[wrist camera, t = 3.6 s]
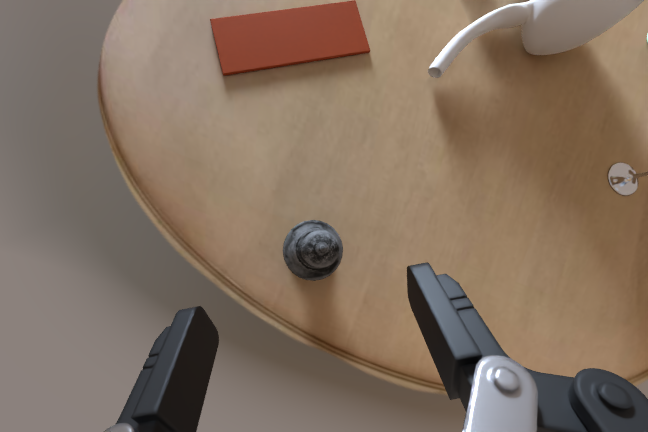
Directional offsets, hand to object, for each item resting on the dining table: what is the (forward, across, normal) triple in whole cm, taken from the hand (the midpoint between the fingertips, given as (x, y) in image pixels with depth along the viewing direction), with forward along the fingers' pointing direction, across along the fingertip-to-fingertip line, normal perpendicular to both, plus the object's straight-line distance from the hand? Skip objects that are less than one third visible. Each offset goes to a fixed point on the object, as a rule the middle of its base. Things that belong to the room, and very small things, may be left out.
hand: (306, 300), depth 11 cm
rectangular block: (+33, -1, -9) cm, 34 cm away
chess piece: (+17, +2, +11) cm, 20 cm away
